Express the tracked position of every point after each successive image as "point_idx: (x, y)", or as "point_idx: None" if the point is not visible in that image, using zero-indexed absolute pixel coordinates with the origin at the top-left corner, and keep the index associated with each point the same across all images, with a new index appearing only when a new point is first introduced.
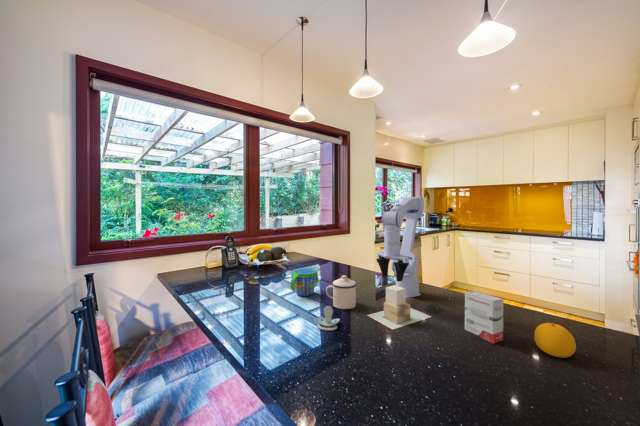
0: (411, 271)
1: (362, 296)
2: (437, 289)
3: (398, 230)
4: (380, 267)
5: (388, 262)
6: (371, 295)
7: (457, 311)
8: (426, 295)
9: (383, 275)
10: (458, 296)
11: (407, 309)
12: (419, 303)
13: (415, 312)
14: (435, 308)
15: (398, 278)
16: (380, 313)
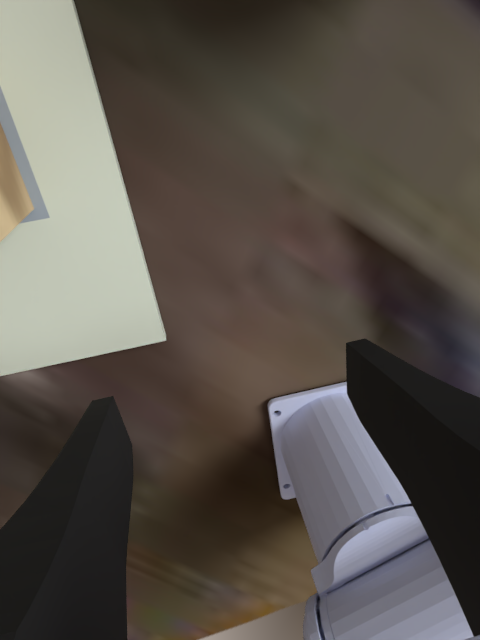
0: (322, 614)
1: (462, 158)
2: (311, 583)
3: None
4: (450, 395)
5: (448, 568)
6: (437, 238)
7: None
8: (269, 515)
9: (353, 353)
10: (198, 609)
11: None
12: (182, 435)
13: (22, 337)
14: None
15: (78, 430)
16: (52, 66)
